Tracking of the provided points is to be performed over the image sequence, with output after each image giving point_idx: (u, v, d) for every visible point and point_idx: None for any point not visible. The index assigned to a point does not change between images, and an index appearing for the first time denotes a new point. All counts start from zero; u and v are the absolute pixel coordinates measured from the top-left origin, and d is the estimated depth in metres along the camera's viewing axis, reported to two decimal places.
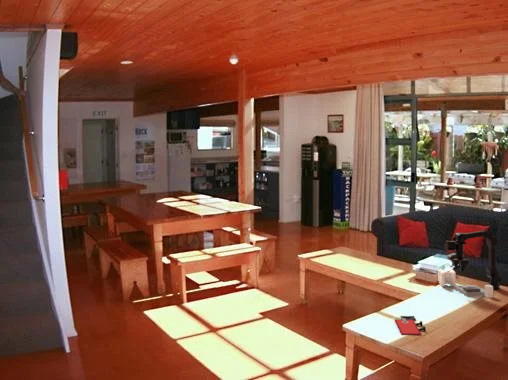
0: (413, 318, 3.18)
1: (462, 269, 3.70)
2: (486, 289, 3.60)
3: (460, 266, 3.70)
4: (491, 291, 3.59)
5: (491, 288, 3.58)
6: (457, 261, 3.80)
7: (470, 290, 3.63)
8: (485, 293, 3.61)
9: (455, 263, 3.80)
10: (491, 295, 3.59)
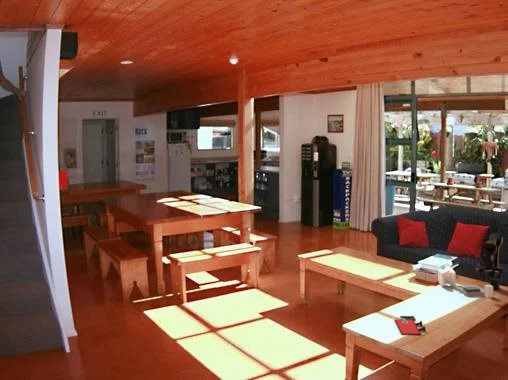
0: (413, 318, 3.18)
1: (481, 278, 3.59)
2: (486, 289, 3.60)
3: None
4: (491, 291, 3.59)
5: (491, 288, 3.58)
6: (496, 274, 3.59)
7: (470, 290, 3.63)
8: (485, 293, 3.61)
9: (495, 275, 3.60)
10: (491, 295, 3.59)
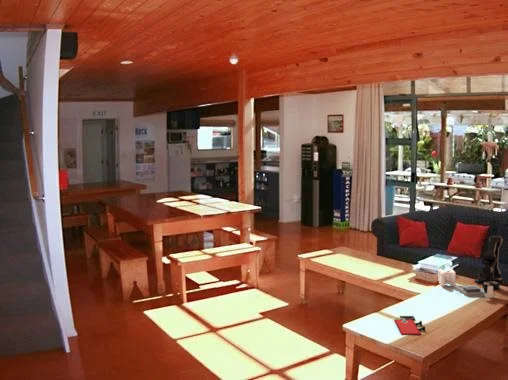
0: (412, 318, 3.18)
1: (484, 290, 3.60)
2: None
3: (484, 286, 3.61)
4: (491, 291, 3.59)
5: (491, 288, 3.58)
6: (493, 285, 3.59)
7: (470, 290, 3.63)
8: (485, 293, 3.61)
9: None
10: (491, 295, 3.59)
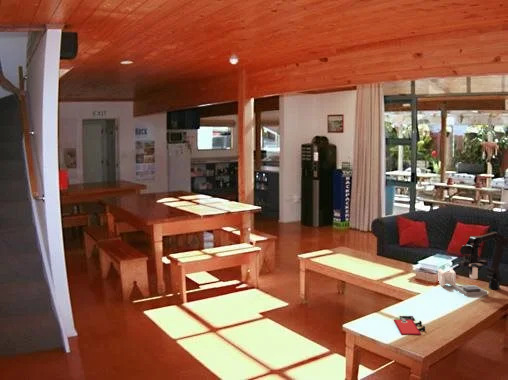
0: (412, 318, 3.18)
1: (469, 271, 3.73)
2: None
3: None
4: (476, 272, 3.71)
5: (476, 270, 3.71)
6: (478, 267, 3.71)
7: (470, 290, 3.63)
8: (470, 275, 3.73)
9: None
10: (476, 276, 3.71)
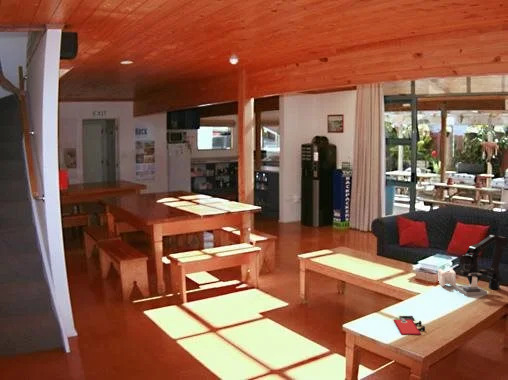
0: (412, 318, 3.18)
1: (469, 281, 3.73)
2: None
3: None
4: (476, 282, 3.72)
5: (475, 280, 3.72)
6: (477, 276, 3.72)
7: (470, 290, 3.63)
8: (470, 284, 3.74)
9: None
10: (475, 286, 3.72)
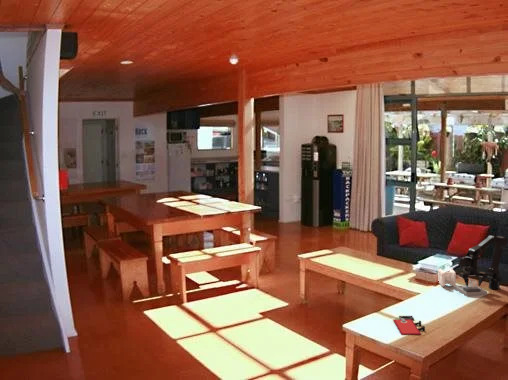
0: (411, 318, 3.18)
1: (466, 283, 3.73)
2: (470, 284, 3.73)
3: None
4: (475, 286, 3.72)
5: (475, 283, 3.72)
6: (480, 278, 3.73)
7: (470, 290, 3.63)
8: None
9: (479, 280, 3.74)
10: None
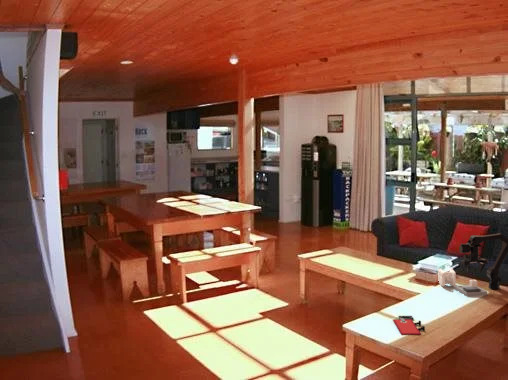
0: (411, 318, 3.18)
1: (467, 270, 3.78)
2: (470, 284, 3.73)
3: None
4: (475, 286, 3.72)
5: (475, 283, 3.72)
6: (481, 265, 3.78)
7: (470, 290, 3.63)
8: None
9: (480, 267, 3.80)
10: None
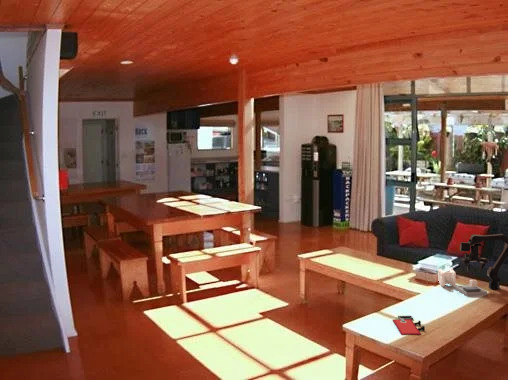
0: (411, 318, 3.18)
1: (467, 269, 3.81)
2: (470, 284, 3.73)
3: None
4: (475, 286, 3.72)
5: (475, 283, 3.72)
6: (481, 264, 3.80)
7: (470, 290, 3.63)
8: None
9: (480, 266, 3.82)
10: None
